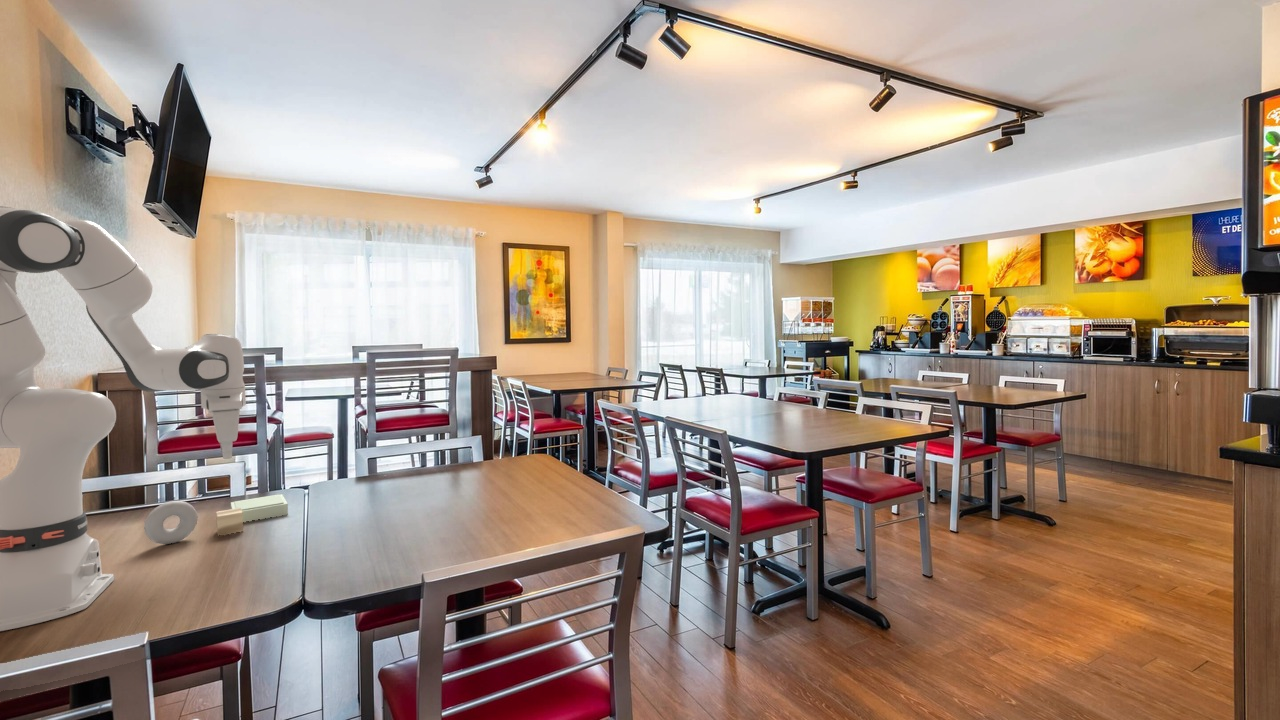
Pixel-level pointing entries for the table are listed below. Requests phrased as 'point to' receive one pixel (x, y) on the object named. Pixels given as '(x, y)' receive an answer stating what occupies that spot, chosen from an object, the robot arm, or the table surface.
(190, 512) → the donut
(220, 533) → the maple cube
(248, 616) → the table surface
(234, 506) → the pedestal
